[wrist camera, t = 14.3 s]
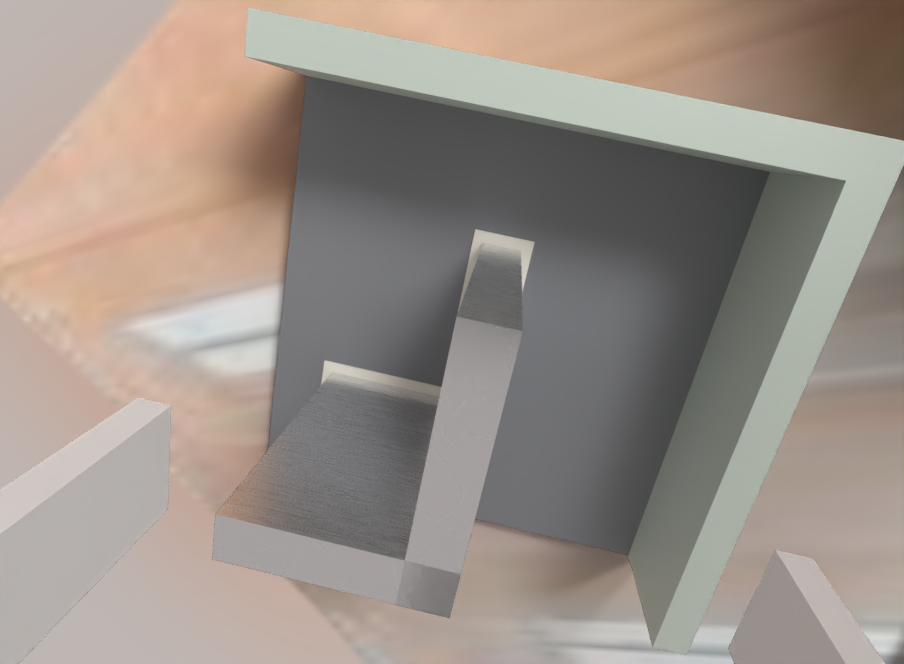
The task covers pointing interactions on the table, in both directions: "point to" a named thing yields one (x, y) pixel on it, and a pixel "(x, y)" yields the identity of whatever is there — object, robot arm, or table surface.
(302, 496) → the angle bracket
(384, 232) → the corner tray
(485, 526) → the table surface
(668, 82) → the table surface
